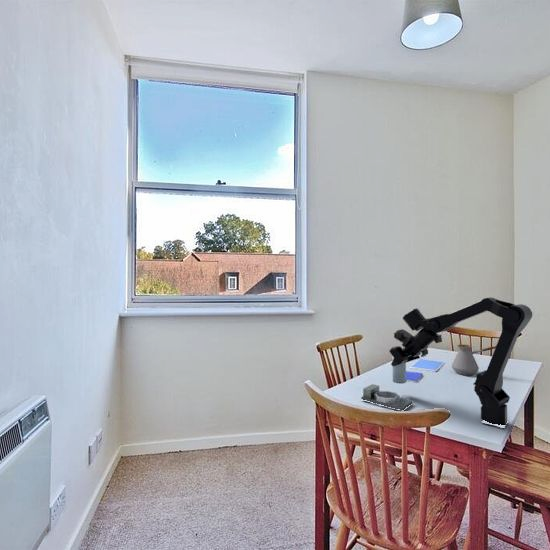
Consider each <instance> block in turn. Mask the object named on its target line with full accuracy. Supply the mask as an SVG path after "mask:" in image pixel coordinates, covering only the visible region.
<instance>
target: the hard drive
mask: <svg viewBox="0 0 550 550" xmlns="http://www.w3.org/2000/svg"><path fill="white" fill-rule="evenodd" d="M423 376H424V374H423V373H422V372H415V371H410V370H409V371H408V370H406V380H409V381H408V382H410V381H414V382H413V383H416V382H417V381H418V382H419V380H420V379H421V378H422V377H423ZM418 382H417V383H418Z"/></svg>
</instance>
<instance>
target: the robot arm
mask: <svg viewBox="0 0 550 550" xmlns="http://www.w3.org/2000/svg"><path fill="white" fill-rule="evenodd" d="M487 312H489V313H491V314H493V315H495V316H496V317H499V318H502V319H501V334H500V336H499V337H498V340H497V342H496V345H495V346H496V348H495V349H493V353H492V356H491V359H490V361H489V364H488V365H487V369H486V370H482V371H481V372H478V373H476V379H475V381H474V382H473V384H472V385H473V386H474V389H473V391H474V392H475V394H476V396H477V397H478V399H479V402H480V404H481V405H480V406H481V407H480V420H481V421H482V420H485V421H487V422H489V423H492V424H498V425H500V424H501V425H506V423H507V421H508V405H507V404H508V403H509V402H510V399H511V397H510V396H509V393H506V391H505V390H504V389H503V385H504V377H503V375H504V372H505V368H506V366H507V364H508V361H509V359H510V356H511V355H512V352H513V350H514V347H515V345H516V342H517V339H518V337H519V335H520V334H521V332H522V331H523V330H524V329H525V328H526V327H527V326H528V324H529V323H530V321H531V319H532V317H533V311H532V310H531V308H530V307H529V306H527V305H526V304H522V303H521V304H520V303H519V304H515V303H513V302H507V301H503V300H500V299H497V298H495V297H491V296H490V297H485V298H482V299H481V300H479V301H476V302H474V303H472V304H470V305H467V306H465V307H462V308H459V309H457V310H455V311H453V312H450V313H445V314H441V315H436V316H432V317H430V318H426V317H425V316H424V315H423V314H422V313H421V311H420V309H418V308H413V309H412V310H411V311H409V312H408V313H406V314H404V316H403V317H402V320H403V321H404V322H405V323H406V325H407V326H408V327H409V328H410V329H411V330H412V331H416V332H417V333H416V334H415V335H413V334H411V333H410V332H408V331H407V330H406V329H403V328H402V329H398V330H397V331H395V332H394V333H393V338H394V339H395V340H397V341H399V342H400V343H401V346H399V345H398V346H397V345H396V346H392V347H391V348H390V349H389V353H390V355H391V356H393V357H394V359H393V361H391V364H390V365H391V366H392V367H393V366H396V365H400V364H403V363H406V364H407V363H408V362H411V361H415V360H420V359H421V358H424V357H426V356H427V355H428V354H429V350H428V348H429V346H430V345H431V344H432V343H433V342H434V343H435V344H439V343H440V344H441V343H442V342H443V338H442V334H438V333H442V332H447V331H449V330H450V329H453V328H454V327H455V326H456V325H457V324H459V323H461V322H464V321H466V320H468V319H470V318H473V317H476V316H478V315H481V314H483V313H487ZM402 348H403V349H402Z"/></svg>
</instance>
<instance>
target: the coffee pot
mask: <svg viewBox="0 0 550 550" xmlns="http://www.w3.org/2000/svg"><path fill="white" fill-rule="evenodd" d="M457 348H458V350H457V353H456V355H455V357H454V359H453V362H452V363H451V368H452V370H454V372H455V373H456V374H458V375H462V376H463V375H464V376H473V375H475V374H477V372H478V371H479V369H480V367H479V365H478V363H477V361H476V359H475V357H474V354H478V353H482V352H486V351H492V350H495V348H496V345H495V346H488V347H486V348H482V349H479V350H473V351H472V348H473V346H472V345H470V344H457Z"/></svg>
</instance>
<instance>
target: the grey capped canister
mask: <svg viewBox="0 0 550 550" xmlns="http://www.w3.org/2000/svg"><path fill="white" fill-rule="evenodd" d="M401 348H402V349H403V348H404V347H401ZM391 356H392V355H391ZM393 359H394V357H393V356H392V361H393ZM392 361H391V362H392ZM406 371H407V362H406V363H403V364H400V365H396V366H392V382H393V383H394V384H406V383H407V381H406Z"/></svg>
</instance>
